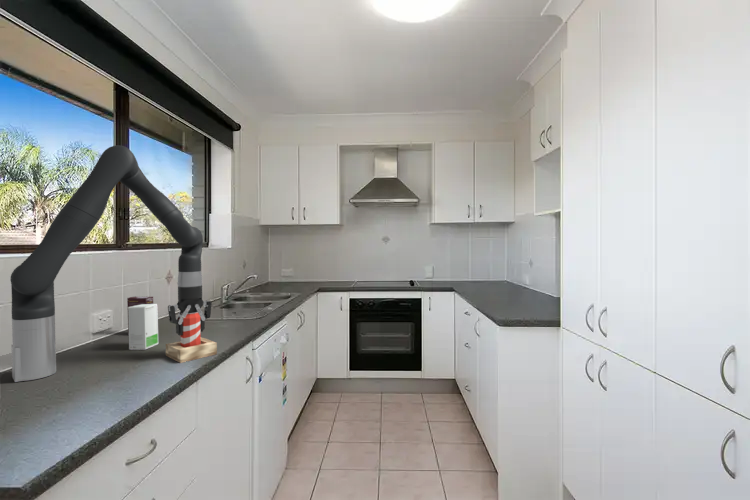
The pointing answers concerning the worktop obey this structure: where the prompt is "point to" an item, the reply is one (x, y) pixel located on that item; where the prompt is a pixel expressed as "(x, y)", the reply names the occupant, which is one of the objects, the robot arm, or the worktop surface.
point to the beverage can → (191, 330)
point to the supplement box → (138, 302)
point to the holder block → (191, 350)
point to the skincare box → (143, 326)
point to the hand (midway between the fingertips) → (190, 333)
